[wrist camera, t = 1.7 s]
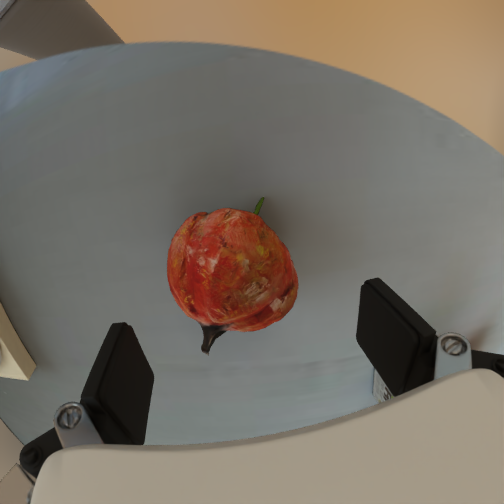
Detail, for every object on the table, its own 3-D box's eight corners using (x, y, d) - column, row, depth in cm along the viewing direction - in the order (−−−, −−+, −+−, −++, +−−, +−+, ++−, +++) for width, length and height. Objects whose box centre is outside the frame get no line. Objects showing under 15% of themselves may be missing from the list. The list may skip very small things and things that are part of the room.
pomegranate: (197, 179, 18) (119, 306, 15) (262, 135, 13) (149, 326, 9) (269, 239, 22) (214, 357, 18) (346, 225, 16) (286, 389, 12)
